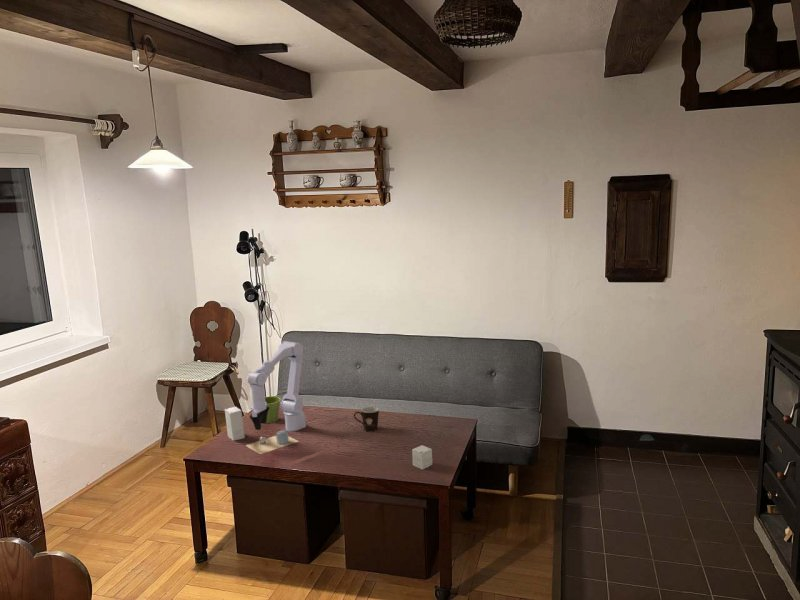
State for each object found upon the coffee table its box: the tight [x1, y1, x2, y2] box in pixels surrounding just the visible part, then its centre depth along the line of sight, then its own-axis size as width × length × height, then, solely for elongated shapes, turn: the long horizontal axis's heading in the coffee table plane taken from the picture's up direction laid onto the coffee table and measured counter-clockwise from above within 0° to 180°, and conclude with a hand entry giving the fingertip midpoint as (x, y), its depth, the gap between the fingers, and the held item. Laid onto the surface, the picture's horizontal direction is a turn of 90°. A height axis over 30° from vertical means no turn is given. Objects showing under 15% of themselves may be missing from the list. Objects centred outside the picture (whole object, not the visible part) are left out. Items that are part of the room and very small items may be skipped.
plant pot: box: [265, 395, 282, 424], centre depth 326 cm, size 12×12×11 cm
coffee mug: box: [353, 406, 380, 432], centre depth 310 cm, size 12×9×10 cm
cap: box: [275, 429, 290, 445], centre depth 294 cm, size 5×5×5 cm
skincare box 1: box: [224, 406, 246, 441], centre depth 303 cm, size 8×6×15 cm
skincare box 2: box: [411, 444, 433, 470], centre depth 268 cm, size 6×6×7 cm
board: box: [244, 435, 299, 455], centre depth 295 cm, size 20×14×1 cm
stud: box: [259, 435, 267, 445], centre depth 295 cm, size 3×3×3 cm
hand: (260, 426), depth 293 cm, fingers open, 7 cm apart
